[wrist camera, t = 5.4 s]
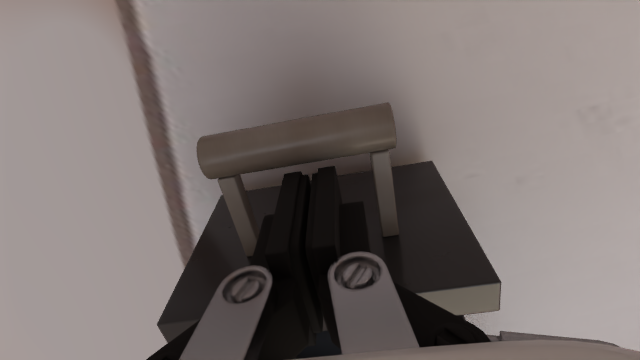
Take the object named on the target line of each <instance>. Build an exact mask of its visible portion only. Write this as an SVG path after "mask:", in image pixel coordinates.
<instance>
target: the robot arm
mask: <svg viewBox="0 0 640 360" xmlns="http://www.w3.org/2000/svg"><path fill="white" fill-rule="evenodd" d="M323 317H324V321H325V324H326V328H327V331H328V332H329V334H330V337H331V341H332V343H333V344H335V345H336V346H337V347H338V348H340V349H341V350H342V355H334V356H323V357H312V358H302V359H301V357H300V352H301V351H302V350H303V349H304V348H305V347H306V346H316V336H317V333H321V332H323ZM147 360H640V352H639V351H635V350H630V349H625V348H621V347H619V346H617V345H615V344H612V343H608V342H603V341H599V340H589V339H579V338H568V337H558V336H547V335H537V334H527V333H516V332H506V331H500V336H494V335H486V334H485V333H484V332H483V331H482V330H480V329H479V328H477V327H476V326H475V325H473V324H471V323H469V322H468V321H466V320H464V319H462V318H460V317H458V316H456V315H454V314H453V313H451V312H449V311H447V310H445V309H443V308H441V307H440V306H438V305H436V304H434V303H432V302H430V301H428V300H427V299H425V298H423V297H421V296H419V295H417V294H415V293H413V292H412V291H410V290H408V289H406V288H404V287H402V286H400V285H399V284H397V283H395V282H393V281H392V279H391V276H390V274H389V271H388V269H387V266H386V264H385V263H384V261H383V260H382V259H381V258H380V257H378V256H377V255H375V254H372V253H371V246H370V239H369V232H368V226H367V220H366V214H365V208H364V202H363V201H358V202H351V203H345V204H343V203H342V198H341V193H340V188H339V183H338V178H337V173H336V169H335V166H330V167H324V168H318V173H314V174H312V182H311V183H310V179H309V176H308V175H303V174H302V172H301V171H300V172H293V173H287V174H284V176H283V180H282V185H281V189H280V193H279V197H278V201H277V205H276V209H275V213H274V214H271V215H266V216H264V219H263V222H262V225H261V229H260V232H259V236H258V240H257V243H256V247H255V250H254V254H253V257H252V261H251V264H250V266H246V267H243V268H240V269H237V270H236V271H234V272H232V273H230V274H229V275H228V276H227V277H226V278H225V279H224V280H223V281H222V282H221V284H220V285H219V287H218V288H217V290H216V292H215V294H214V296H213V298H212V299H211V301H210V303H209V305H208V307H207V309H206V311H205V312H204V314H203V316H202V318H201V319H200V320H199V321H197V322H196V323H195V324H193V325H192V326H190V327H189V328H188V329H186V330H185V331H184V332H182V333H181V334H180V335H178V336H177V337H176V338H174V339H173V340H172V341H170V342H169V343H168V344H166V345H165V346H164V347H162V348H161V349H160V350H158V351H157V352H156V353H154V354H153V355H152V356H150V357H149V358H148V359H147Z"/></svg>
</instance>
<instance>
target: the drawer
mask: <svg viewBox="0 0 640 360" xmlns="http://www.w3.org/2000/svg"><path fill="white" fill-rule="evenodd" d="M395 147H396V130H395V123H394V117H393V112H392V109H391V106H390V104H389V103H382V104H377V105H371V106H366V107H360V108H355V109H349V110H344V111H339V112H333V113H328V114H322V115H317V116H311V117H306V118H301V119H295V120H290V121H284V122H279V123H273V124H268V125H263V126H257V127H252V128H246V129H241V130H235V131H230V132H224V133H219V134H214V135H208V136H203V137H201V138H200V139H199V140H198V143H197V158H198V162H199V165H200V168H201V170H202V172H203V174H204V175H205V176H206V177H207V178H208V179H216V178H219V179H218V183H219V185H220V188H221V191H222V193H223V195H221V197H220V199H219V201H218V203H217V205H216V207H215V209H214V211H213V213H212V215H211V217H210V219H209V221H208V223H207V225H206V227H205V229H204V231H203V233H202V235H201V237H200V239H199V241H198V243H197V245H196V247H195V249H194V251H193V253H192V255H191V257H190V259H189V261H188V263H187V265H186V267H185V269H184V271H183V273H182V275H181V277H180V279H179V281H178V283H177V285H176V287H175V289H174V291H173V293H172V295H171V297H170V299H169V301H168V303H167V305H166V307H165V309H164V311H163V313H162V315H161V317H160V319H159V321H158V323H157V326H158V327H159V329H160V331H161V333H162V334H163V336H164V338H165V339H166V341H167V342H168V343H169V342H170V341H172V340H173V339H174V338H176V337H177V336H178V335H180V334H181V333H182V332H184V331H185V330H186V329H188V328H189V327H190V326H192V325H193V324H195V323H196V322H197V321H199V320H200V319H201V318H202V316H203V314H204V312H205V311H206V309H207V307H208V305H209V303H210V301H211V299H212V298H213V296H214V294H215V292H216V290H217V288H218V287H219V285H220V284H221V282H222V281H223V280H224V279H225V278H226V277H227V276H228V275H229V274H230V273H232V272H234V271H236V270H237V269H240V268H243V267H246V266H250V264H251V261H252V257H253V254H254V250H255V247H256V243H257V240H258V236H259V232H260V229H261V225H262V222H263V219H264V216H266V215H271V214H274V213H275V209H276V205H277V201H278V197H279V193H280V189H281V186H275V187H268V188H262V189H256V190H250V191H245V188H244V185H243V182H242V179H241V176H240V174H245V173H251V172H257V171H263V170H269V169H275V168H281V167H287V166H292V165H298V164H304V163H310V162H316V161H322V160H328V159H334V158H340V157H346V156H351V155H357V154H363V153H369V154H370V160H371V167H372V171H366V172H360V173H354V174H348V175H342V176H337V178H338V183H339V188H340V193H341V198H342V203H343V204H345V203H351V202H358V201H363V202H364V208H365V214H366V220H367V226H368V232H369V239H370V246H371V253H372V254H375V255H377V256H378V257H380V258H381V259H382V260H383V261H384V263H385V264H386V266H387V269H388V271H389V274H390V276H391V279H392V281H393V282H395V283H397V284H399V285H400V286H402V287H404V288H406V289H408V290H410V291H412V292H413V293H415V294H417V295H419V296H421V297H423V298H425V299H427V300H428V301H430V302H432V303H434V304H436V305H438V306H440V307H441V308H443V309H445V310H447V311H449V312H451V313H453V314H454V315H456V316H458V317H460V318H462V319H464V320H465V317H464V315H466V314H475V313H484V312H492V311H499V310H500V293H501V281H500V279H499V277H498V276H497V274H496V272H495V270H494V269H493V267H492V265H491V263H490V262H489V260H488V258H487V256H486V255H485V253H484V251H483V249H482V248H481V246H480V244H479V242H478V241H477V239H476V237H475V235H474V234H473V232H472V230H471V228H470V227H469V225H468V223H467V221H466V220H465V218H464V216H463V214H462V213H461V211H460V209H459V207H458V206H457V204H456V202H455V200H454V199H453V197H452V195H451V193H450V192H449V190H448V188H447V186H446V185H445V183H444V181H443V179H442V178H441V176H440V174H439V172H438V171H437V169H436V167H435V165H434V164H433V162H432V161H427V162H421V163H415V164H409V165H403V166H397V167H391V160H390V152H389V149H393V148H395ZM311 182H312V180H311V181H310V183H311ZM334 355H342V350H341V349H340V348H338V347H337V346H336V345H335V344H333V343H332V341H331V337H330V334H329V332H328V331H327V328H326V324H325V321H324V317H323V332H321V333H317V336H316V346H306V347H305V348H304V349H303V350H302V351H301V352H300V357H301V359H302V358H312V357H323V356H334Z"/></svg>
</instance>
